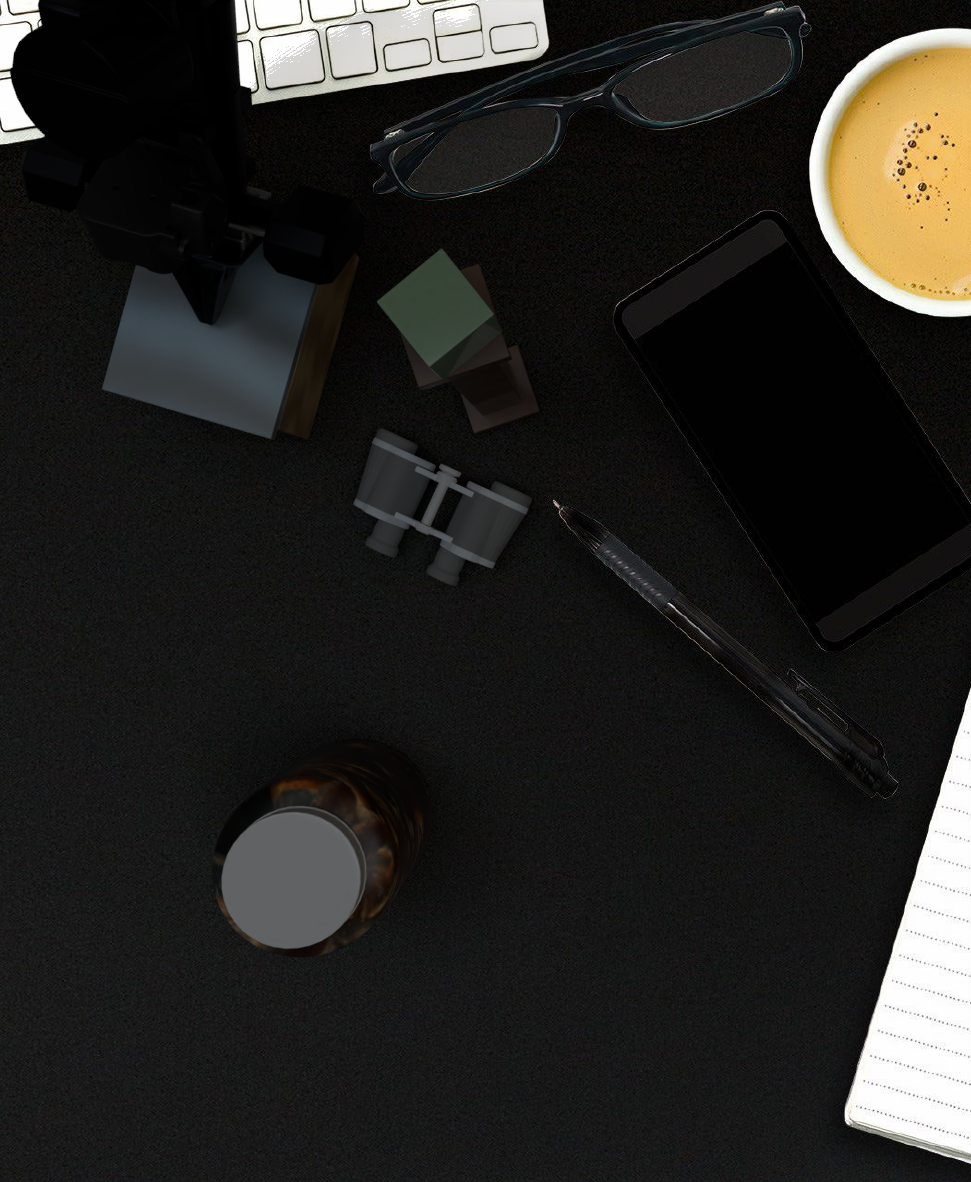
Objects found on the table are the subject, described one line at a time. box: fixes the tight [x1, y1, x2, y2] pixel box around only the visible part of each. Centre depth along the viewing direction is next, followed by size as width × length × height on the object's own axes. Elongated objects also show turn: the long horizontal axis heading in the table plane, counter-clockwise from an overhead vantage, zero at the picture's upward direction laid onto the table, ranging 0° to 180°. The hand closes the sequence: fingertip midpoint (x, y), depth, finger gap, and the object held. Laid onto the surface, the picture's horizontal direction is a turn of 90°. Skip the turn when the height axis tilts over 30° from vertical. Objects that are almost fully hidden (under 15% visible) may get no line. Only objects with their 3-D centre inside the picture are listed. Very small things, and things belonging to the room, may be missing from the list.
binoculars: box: [353, 427, 533, 587], centre depth 75 cm, size 12×8×4 cm, turn 65°
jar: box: [211, 739, 434, 959], centre depth 70 cm, size 12×12×15 cm
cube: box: [376, 248, 504, 380], centre depth 52 cm, size 4×4×4 cm
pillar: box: [398, 263, 542, 436], centre depth 65 cm, size 5×5×22 cm
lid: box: [101, 242, 318, 441], centre depth 69 cm, size 14×12×1 cm
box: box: [277, 252, 360, 440], centre depth 73 cm, size 14×12×7 cm
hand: (209, 320), depth 68 cm, fingers closed
